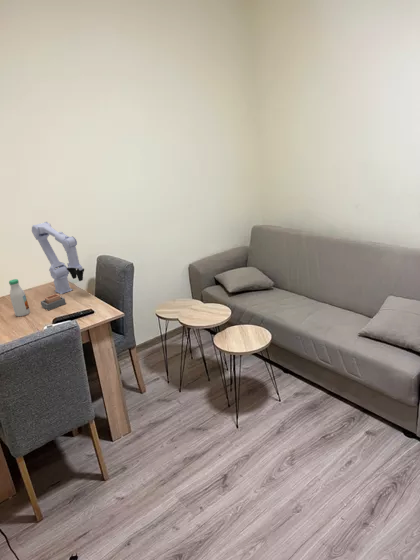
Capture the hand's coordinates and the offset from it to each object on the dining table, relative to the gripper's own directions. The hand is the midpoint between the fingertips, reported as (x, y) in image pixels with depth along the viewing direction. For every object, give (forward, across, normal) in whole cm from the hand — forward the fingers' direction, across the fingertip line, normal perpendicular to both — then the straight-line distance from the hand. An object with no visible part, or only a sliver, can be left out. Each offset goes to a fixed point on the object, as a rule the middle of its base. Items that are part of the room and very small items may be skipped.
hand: (77, 279), depth 240 cm
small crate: (+9, +1, -18) cm, 20 cm away
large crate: (+10, +1, -18) cm, 21 cm away
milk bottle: (+10, -4, -34) cm, 36 cm away
